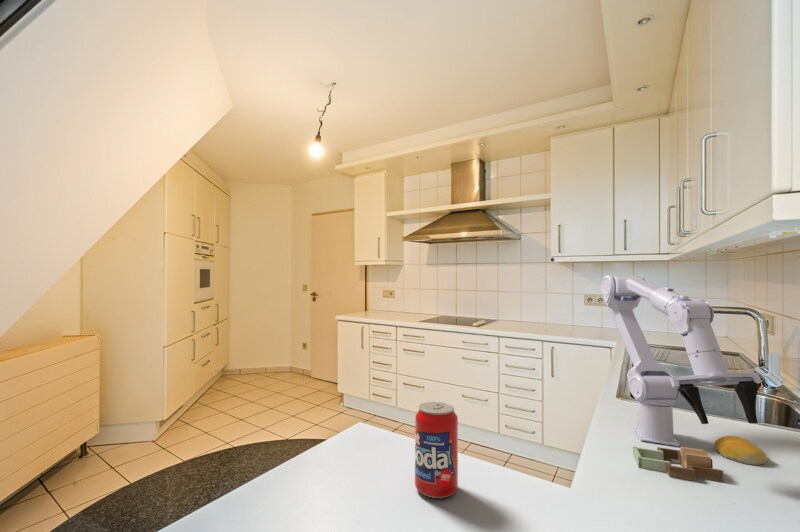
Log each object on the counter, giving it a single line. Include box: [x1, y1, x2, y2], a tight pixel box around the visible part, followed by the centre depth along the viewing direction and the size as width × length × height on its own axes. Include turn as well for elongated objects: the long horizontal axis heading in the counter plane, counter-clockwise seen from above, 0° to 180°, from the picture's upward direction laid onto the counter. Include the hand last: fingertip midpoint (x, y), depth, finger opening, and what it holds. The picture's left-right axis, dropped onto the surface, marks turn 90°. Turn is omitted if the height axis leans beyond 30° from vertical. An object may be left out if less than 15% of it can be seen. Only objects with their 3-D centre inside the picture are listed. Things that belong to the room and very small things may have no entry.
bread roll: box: [714, 435, 767, 466], centre depth 83 cm, size 8×9×4 cm
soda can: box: [414, 401, 459, 499], centre depth 68 cm, size 8×8×15 cm
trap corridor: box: [632, 446, 724, 483], centre depth 78 cm, size 10×14×2 cm
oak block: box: [679, 446, 712, 468], centre depth 76 cm, size 4×4×4 cm
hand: (728, 423), depth 73 cm, fingers open, 7 cm apart
